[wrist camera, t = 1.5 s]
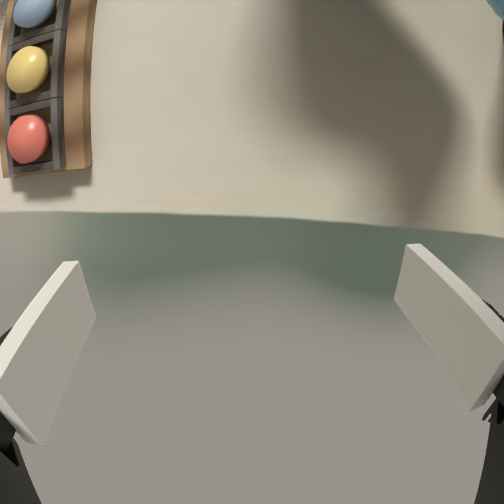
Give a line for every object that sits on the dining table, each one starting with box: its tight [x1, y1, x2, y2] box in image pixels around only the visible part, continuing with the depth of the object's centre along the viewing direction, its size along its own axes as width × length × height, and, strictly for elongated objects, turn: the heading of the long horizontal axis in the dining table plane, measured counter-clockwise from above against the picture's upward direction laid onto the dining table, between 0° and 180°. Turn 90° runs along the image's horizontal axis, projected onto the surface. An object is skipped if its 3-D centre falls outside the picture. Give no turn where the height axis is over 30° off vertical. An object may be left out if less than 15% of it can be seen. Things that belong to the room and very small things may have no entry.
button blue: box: [13, 0, 57, 29], centre depth 18 cm, size 5×5×2 cm
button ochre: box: [6, 46, 50, 93], centre depth 21 cm, size 5×5×2 cm
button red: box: [7, 114, 50, 163], centre depth 24 cm, size 5×5×2 cm
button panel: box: [0, 0, 97, 178], centre depth 23 cm, size 23×12×4 cm, turn 178°
